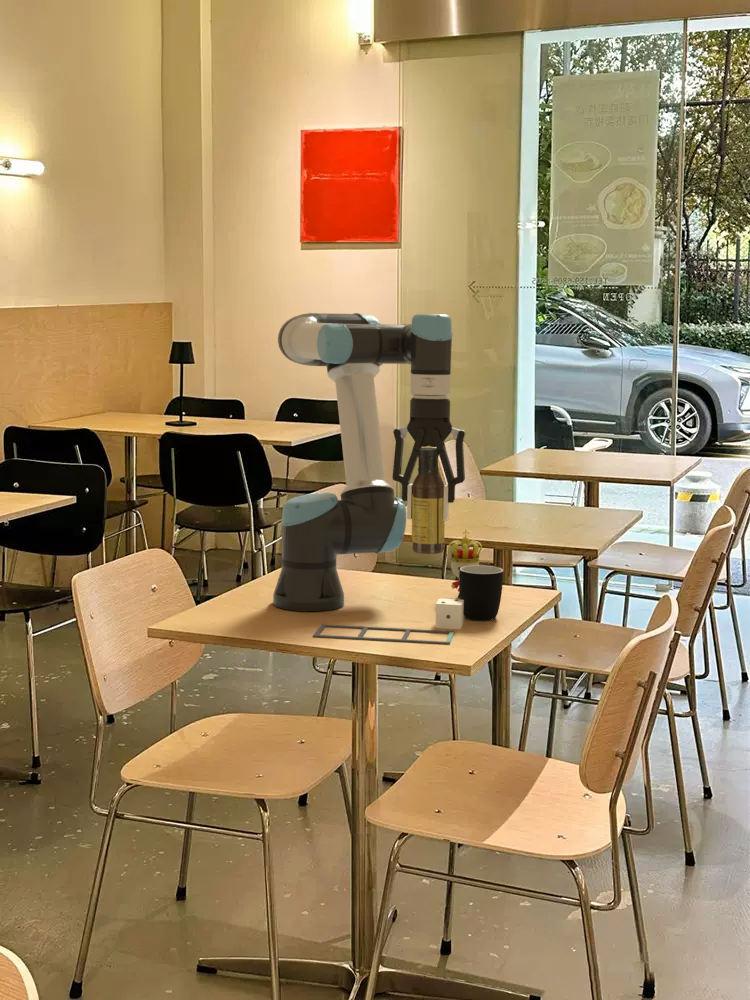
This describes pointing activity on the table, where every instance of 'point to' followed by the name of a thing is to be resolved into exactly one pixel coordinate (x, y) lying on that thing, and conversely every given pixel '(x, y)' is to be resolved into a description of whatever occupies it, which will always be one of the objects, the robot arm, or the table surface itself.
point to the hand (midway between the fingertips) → (427, 518)
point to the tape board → (404, 638)
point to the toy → (463, 556)
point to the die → (449, 613)
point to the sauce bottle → (428, 505)
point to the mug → (480, 591)
